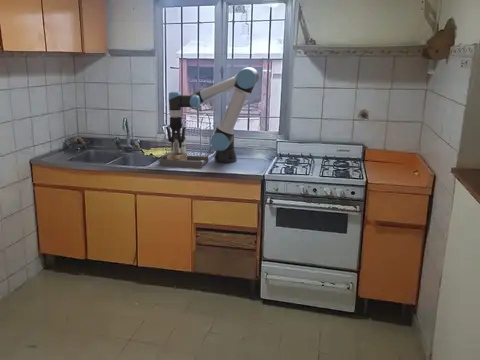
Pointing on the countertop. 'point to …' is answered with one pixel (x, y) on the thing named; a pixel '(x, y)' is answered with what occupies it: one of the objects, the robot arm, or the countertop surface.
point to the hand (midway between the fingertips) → (176, 152)
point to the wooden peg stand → (177, 155)
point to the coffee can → (183, 148)
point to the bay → (184, 161)
